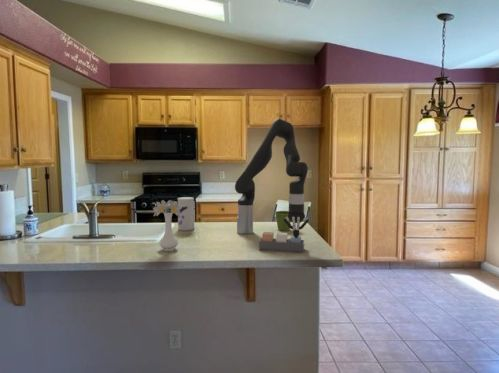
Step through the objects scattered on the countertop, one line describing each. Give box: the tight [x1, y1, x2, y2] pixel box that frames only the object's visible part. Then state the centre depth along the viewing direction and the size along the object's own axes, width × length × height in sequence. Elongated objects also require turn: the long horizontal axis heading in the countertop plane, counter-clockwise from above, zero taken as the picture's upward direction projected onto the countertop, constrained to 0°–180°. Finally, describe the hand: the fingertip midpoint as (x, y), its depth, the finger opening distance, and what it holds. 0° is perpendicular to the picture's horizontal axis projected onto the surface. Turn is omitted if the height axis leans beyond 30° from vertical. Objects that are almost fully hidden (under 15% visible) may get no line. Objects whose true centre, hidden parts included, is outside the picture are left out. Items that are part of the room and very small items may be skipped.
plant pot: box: [274, 210, 292, 232], centre depth 226 cm, size 12×12×11 cm
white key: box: [275, 232, 288, 243], centre depth 181 cm, size 5×5×4 cm
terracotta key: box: [261, 231, 275, 242], centre depth 182 cm, size 5×5×4 cm
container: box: [177, 196, 195, 232], centre depth 229 cm, size 10×10×20 cm
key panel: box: [258, 237, 305, 254], centre depth 181 cm, size 22×8×4 cm, turn 78°
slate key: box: [290, 235, 302, 243], centre depth 180 cm, size 5×5×4 cm
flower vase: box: [152, 199, 182, 252], centre depth 181 cm, size 13×18×25 cm
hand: (296, 237), depth 179 cm, fingers closed
